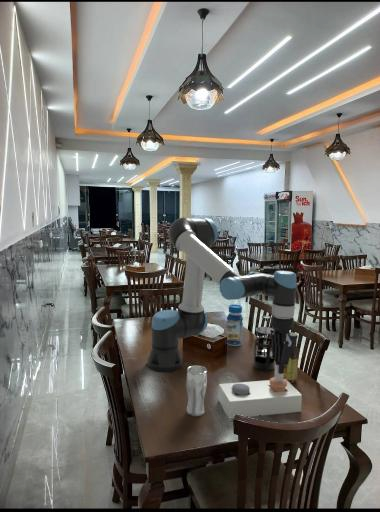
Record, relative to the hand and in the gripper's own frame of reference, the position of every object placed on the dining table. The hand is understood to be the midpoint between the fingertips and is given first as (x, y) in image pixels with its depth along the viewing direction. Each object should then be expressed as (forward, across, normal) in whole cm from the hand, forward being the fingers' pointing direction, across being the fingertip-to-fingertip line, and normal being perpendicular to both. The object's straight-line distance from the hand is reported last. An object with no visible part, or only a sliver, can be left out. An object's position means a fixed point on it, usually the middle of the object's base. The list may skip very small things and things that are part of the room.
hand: (278, 380), depth 127 cm
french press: (+9, +30, -8) cm, 32 cm away
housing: (+9, 0, +7) cm, 11 cm away
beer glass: (+9, 0, +30) cm, 31 cm away
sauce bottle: (+9, +16, -13) cm, 23 cm away
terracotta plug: (+7, 0, 0) cm, 7 cm away
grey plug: (+8, 0, +14) cm, 16 cm away
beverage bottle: (+9, +58, -4) cm, 59 cm away
